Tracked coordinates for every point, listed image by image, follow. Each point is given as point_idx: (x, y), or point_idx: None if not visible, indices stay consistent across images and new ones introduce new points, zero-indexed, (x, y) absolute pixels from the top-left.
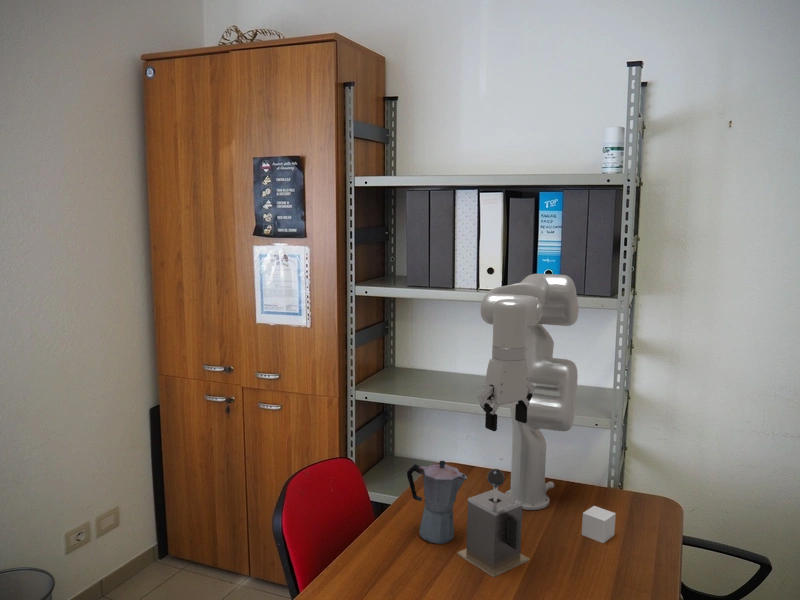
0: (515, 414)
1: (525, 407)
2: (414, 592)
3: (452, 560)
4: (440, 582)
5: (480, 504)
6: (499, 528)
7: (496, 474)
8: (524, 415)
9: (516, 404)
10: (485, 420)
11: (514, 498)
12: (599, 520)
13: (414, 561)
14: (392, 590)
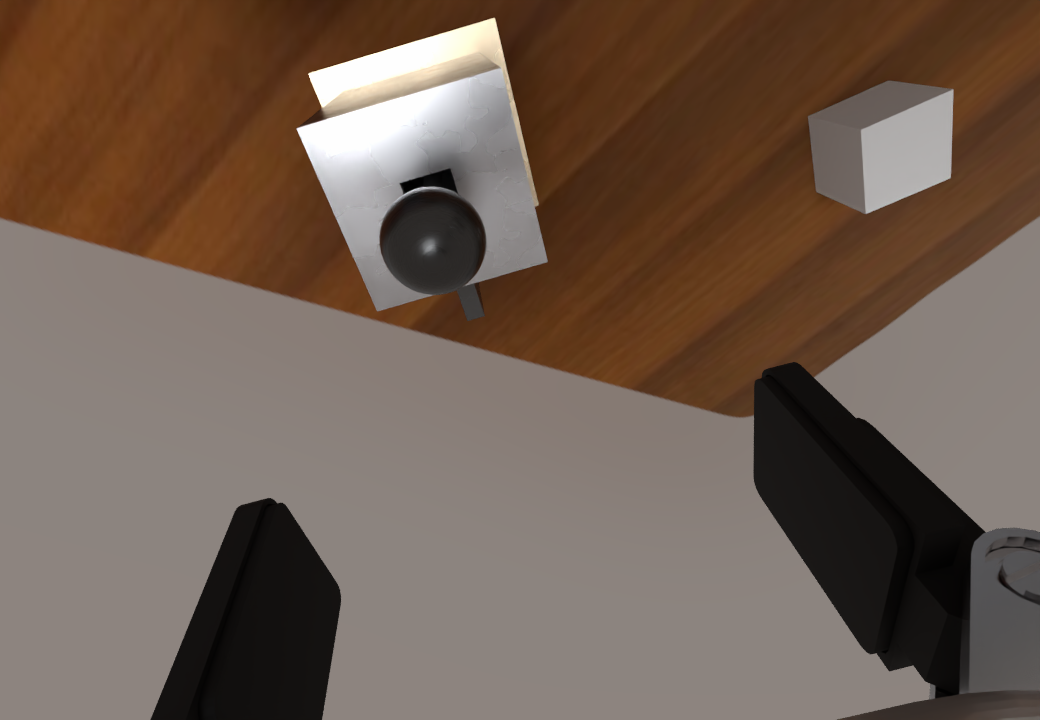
0: (793, 423)
1: (885, 661)
2: (100, 240)
3: (278, 105)
4: (200, 218)
5: (339, 218)
6: None
7: (417, 287)
8: (804, 558)
9: (915, 538)
10: (209, 577)
11: (535, 214)
12: (861, 193)
13: (118, 55)
14: (18, 208)
